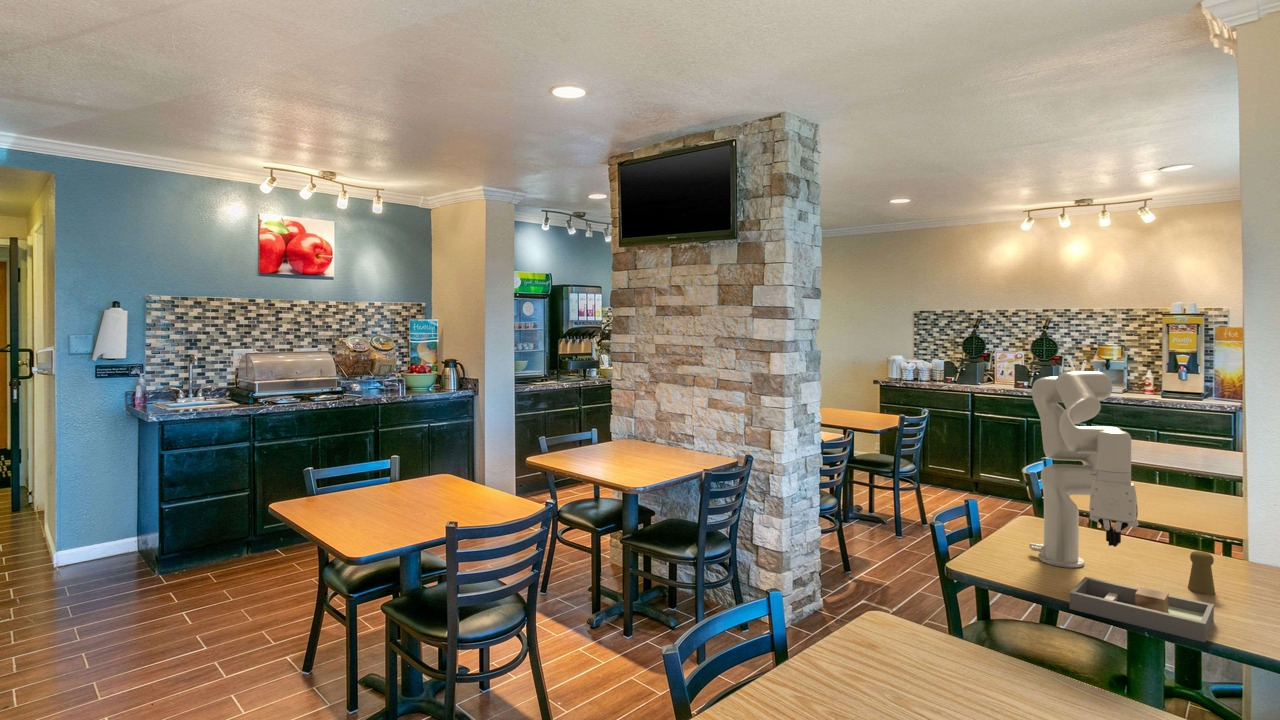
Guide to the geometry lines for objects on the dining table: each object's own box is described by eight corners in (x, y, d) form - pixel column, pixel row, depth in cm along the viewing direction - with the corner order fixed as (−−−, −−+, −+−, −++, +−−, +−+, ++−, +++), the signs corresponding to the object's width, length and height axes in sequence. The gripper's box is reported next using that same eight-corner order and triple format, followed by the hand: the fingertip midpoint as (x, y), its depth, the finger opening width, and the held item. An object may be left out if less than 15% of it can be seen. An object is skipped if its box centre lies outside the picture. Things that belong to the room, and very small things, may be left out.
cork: (1220, 595, 186) (1221, 556, 186) (1195, 593, 187) (1196, 555, 187) (1206, 587, 192) (1207, 549, 192) (1182, 585, 193) (1183, 548, 193)
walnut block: (1135, 610, 172) (1135, 593, 172) (1139, 603, 176) (1139, 587, 176) (1164, 617, 168) (1164, 599, 168) (1168, 610, 172) (1168, 593, 172)
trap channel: (1069, 608, 179) (1069, 592, 179) (1085, 592, 190) (1085, 576, 190) (1205, 642, 158) (1205, 624, 158) (1213, 621, 170) (1213, 604, 169)
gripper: (1077, 475, 180) (1077, 542, 180) (1145, 483, 169) (1145, 554, 169) (1084, 471, 185) (1084, 536, 185) (1151, 478, 174) (1150, 547, 175)
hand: (1113, 544), depth 177 cm, fingers closed
